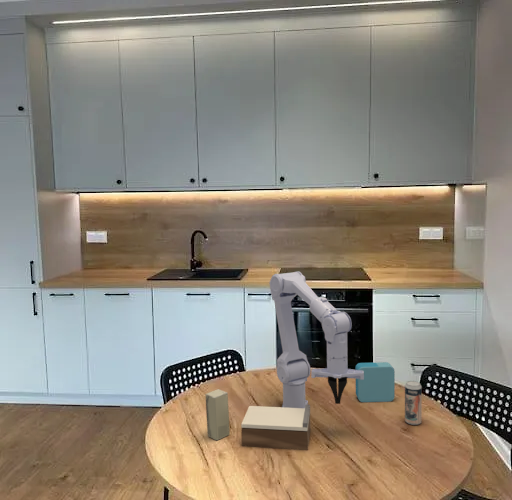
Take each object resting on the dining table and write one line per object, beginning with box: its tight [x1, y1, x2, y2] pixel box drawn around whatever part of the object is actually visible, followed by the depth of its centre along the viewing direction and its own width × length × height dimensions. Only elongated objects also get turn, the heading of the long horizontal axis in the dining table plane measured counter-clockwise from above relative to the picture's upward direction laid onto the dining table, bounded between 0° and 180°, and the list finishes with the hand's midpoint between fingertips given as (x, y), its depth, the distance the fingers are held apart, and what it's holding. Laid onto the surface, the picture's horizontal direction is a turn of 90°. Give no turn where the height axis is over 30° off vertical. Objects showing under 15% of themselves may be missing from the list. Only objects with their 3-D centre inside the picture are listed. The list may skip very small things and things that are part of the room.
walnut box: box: [241, 415, 311, 451], centre depth 136 cm, size 12×18×5 cm, turn 80°
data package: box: [354, 361, 396, 403], centre depth 161 cm, size 12×4×12 cm, turn 90°
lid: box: [240, 404, 311, 431], centre depth 136 cm, size 12×18×2 cm, turn 80°
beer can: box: [404, 380, 423, 426], centre depth 143 cm, size 5×5×12 cm
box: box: [205, 388, 231, 441], centre depth 138 cm, size 5×4×13 cm
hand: (337, 402), depth 137 cm, fingers closed
